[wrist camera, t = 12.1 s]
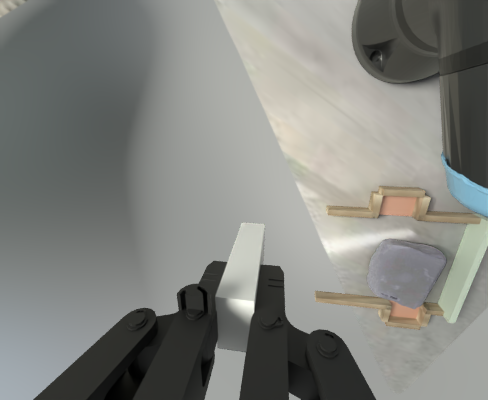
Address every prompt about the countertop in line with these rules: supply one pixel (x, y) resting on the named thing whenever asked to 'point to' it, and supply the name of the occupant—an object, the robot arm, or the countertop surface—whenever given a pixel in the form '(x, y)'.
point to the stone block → (404, 271)
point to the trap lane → (461, 273)
